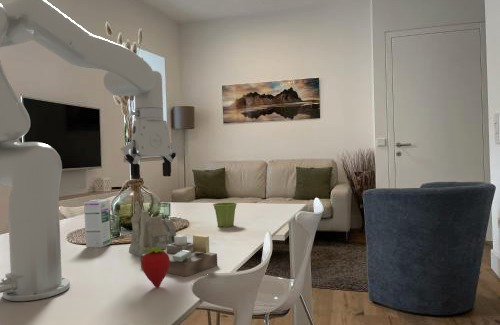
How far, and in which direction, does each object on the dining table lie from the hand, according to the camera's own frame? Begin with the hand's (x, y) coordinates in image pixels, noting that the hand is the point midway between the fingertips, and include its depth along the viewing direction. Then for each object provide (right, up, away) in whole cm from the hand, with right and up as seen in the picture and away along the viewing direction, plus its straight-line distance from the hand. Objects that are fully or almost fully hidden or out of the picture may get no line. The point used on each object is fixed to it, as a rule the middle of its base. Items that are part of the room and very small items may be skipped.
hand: (151, 177), depth 114 cm
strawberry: (+7, -23, -26) cm, 36 cm away
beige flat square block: (+15, -18, -11) cm, 26 cm away
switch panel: (+9, -22, -11) cm, 26 cm away
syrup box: (-21, -22, +16) cm, 35 cm away
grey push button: (+9, -18, -7) cm, 21 cm away
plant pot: (+18, -21, +45) cm, 52 cm away
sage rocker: (+11, -19, -16) cm, 27 cm away
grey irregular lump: (-1, -22, +9) cm, 24 cm away
